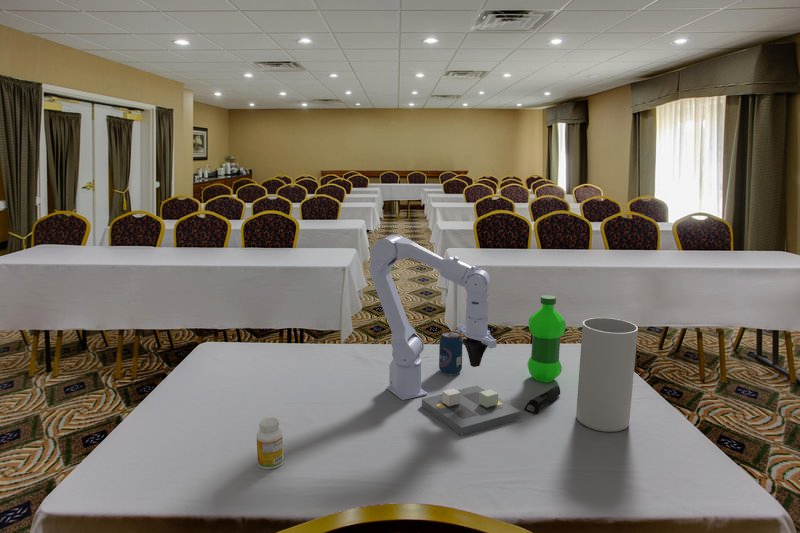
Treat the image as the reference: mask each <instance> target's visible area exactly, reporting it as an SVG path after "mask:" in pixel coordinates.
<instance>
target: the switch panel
mask: <svg viewBox="0 0 800 533" xmlns="http://www.w3.org/2000/svg"><path fill="white" fill-rule="evenodd" d="M457 390H458V391H459V392H461V401H460V404H456V405H452V406H447V405H446V404H445V403H443V402H442V393H440V394H437V395H432V396H428V397H424V398H422V399H421V407H423V408H424V409H425V410H426V411H427V412H429V413H430V414H432V415H433V416H434V417H435V418H437V419H439V420H440V421H441V422H443V423H444V424H446V425H447V426H448V427H449V428H450V429H452V430H454V431H455V432H456V433H458V434H459V435H460V436H464V435H465V436H466V435H468V434H471V433H476V432H479V431H482V430H486V429H488V428H491V427H492V428H493V427H495V426H499V425H502V424H505V423H506V424H507V423H509V422H512V421H516V420H519V419H521V410H520V409H518V408H516V407H514V406H513V405H512V404H510V403H507V402H506V401H503V399H500V398H499V397H498V405H494V406H490V407H487V408H486V407H485V406H483V405H482V404H480V403H479V395H480V392H482V391H486V389H484V388H482V387H481V386H479V385H473V386H470V387H466V388H465V387H464V388H461V389H457Z"/></svg>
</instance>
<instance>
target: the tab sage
mask: <svg viewBox="0 0 800 533" xmlns="http://www.w3.org/2000/svg"><path fill="white" fill-rule="evenodd" d="M485 390H486V389H485ZM498 398H499V393H498V392H496V391H494V390H493V389H491V388H490V389H487V390H486V391H482V392H480V395H479V403H480V404H482V405H483V406H485V407H486V408H487V407H490V406H494V405H498Z"/></svg>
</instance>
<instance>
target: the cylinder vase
mask: <svg viewBox="0 0 800 533" xmlns="http://www.w3.org/2000/svg"><path fill="white" fill-rule="evenodd" d="M638 330H639V327H638V326H637V325H636V324H635V323H632V322H630V321H627V320H624V319H618V318H612V317H592V318H587V319H584V320H583V321H582V329H581V343H580V344H581V345H580V354H579V355H580V358H579V370H578V382H577V384H578V386H577V397H576V398H577V399H576V409H575V417H576V419H577V421H578V422H580V424H582V425H583V426H585V427H587V428H589V429H591V430H595V431H598V432H606V433H616V432H621V431H623V430H625V429H627V427H629V425H630V418H631V417H630V416H631V408H632V399H633V398H632V396H633V387H634V386H633V384H634V378H635V377H634V374H635V366H636V354H637V353H636V352H637V343H638Z"/></svg>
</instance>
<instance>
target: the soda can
mask: <svg viewBox="0 0 800 533" xmlns="http://www.w3.org/2000/svg"><path fill="white" fill-rule="evenodd" d="M461 334H462V333H458V332H457V331H454V330H448V331H447V330H446V331H443V332H441V336H440V337H439V347H438V348H439V353H438V356H439V357H438V358H439V359H438V368H439V370H440V372H441V373H442V374H443V373H444V374H443V375H446V374H447V375H446V376H456V375H458V373H459V374H460V372H461V371H462V368H463V345H464V343H463V340H464V339H463V338H462V335H461ZM455 374H456V375H455Z"/></svg>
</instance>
